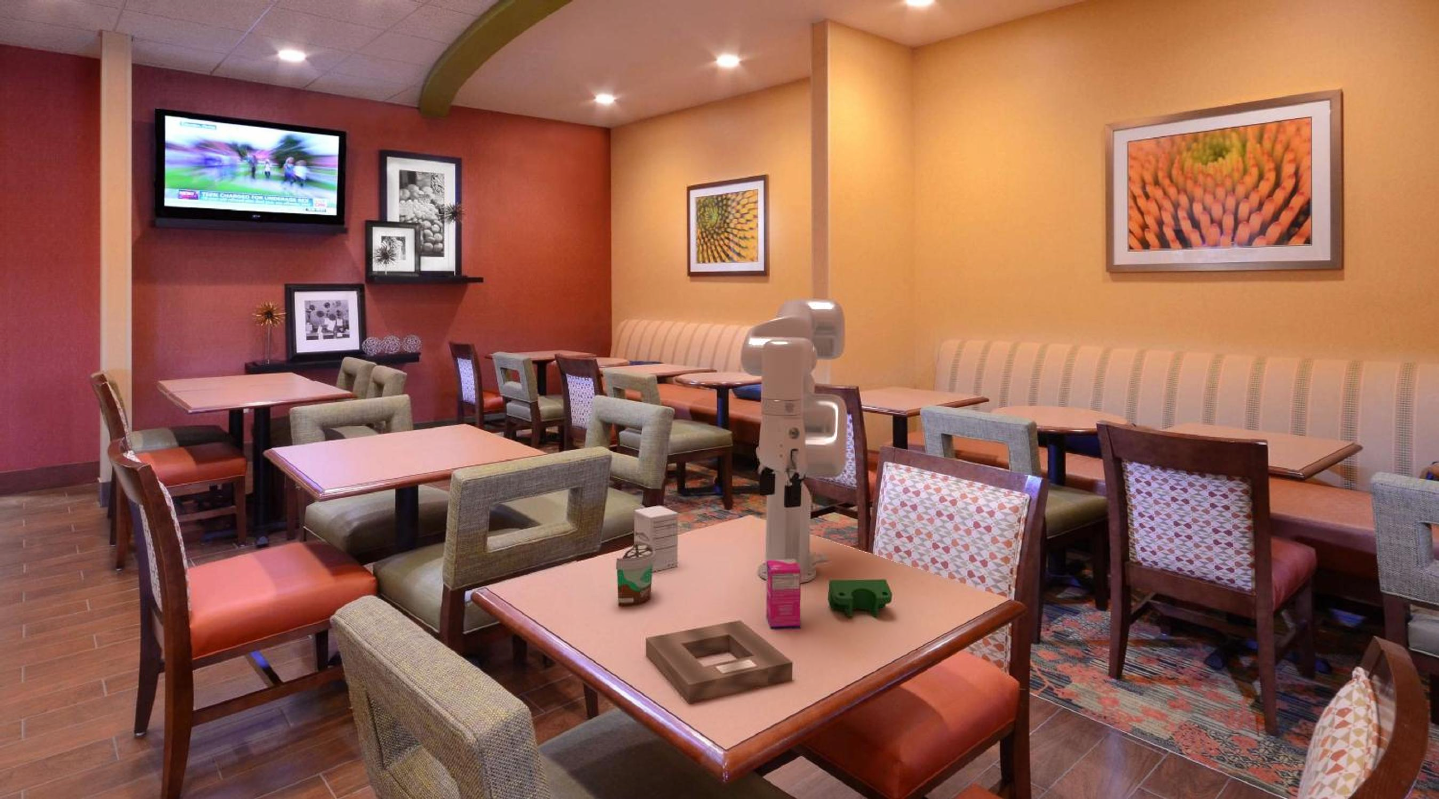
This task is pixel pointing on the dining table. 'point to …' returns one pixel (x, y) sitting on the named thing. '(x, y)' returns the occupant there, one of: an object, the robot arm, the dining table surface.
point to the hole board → (706, 682)
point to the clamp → (859, 595)
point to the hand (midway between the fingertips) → (779, 500)
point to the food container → (635, 574)
